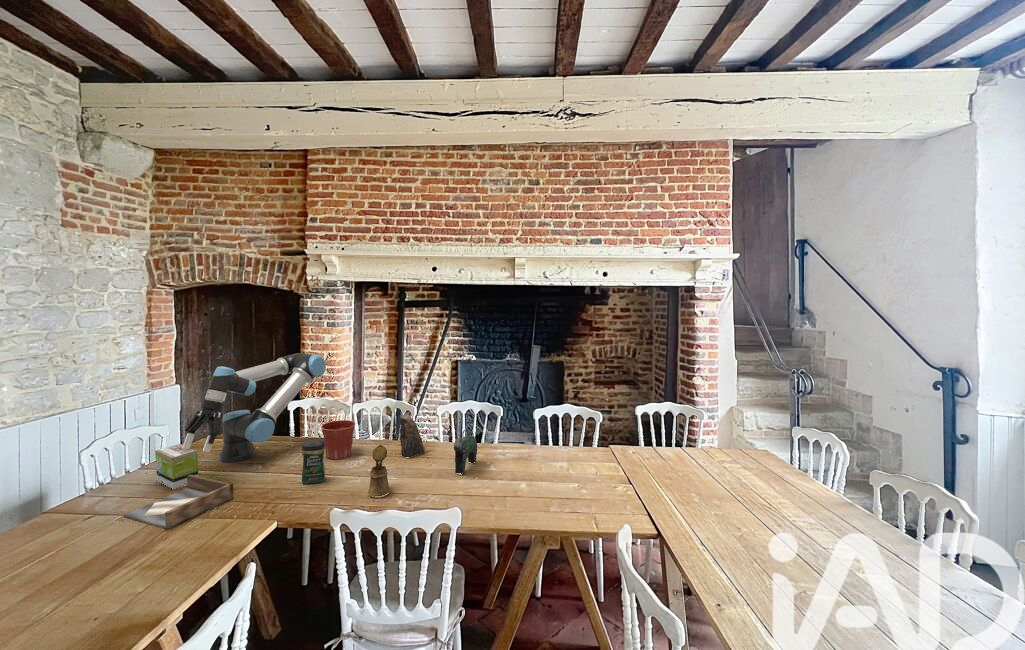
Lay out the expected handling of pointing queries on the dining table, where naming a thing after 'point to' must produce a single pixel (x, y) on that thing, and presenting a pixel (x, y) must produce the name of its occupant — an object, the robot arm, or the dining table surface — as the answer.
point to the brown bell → (378, 474)
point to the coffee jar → (313, 461)
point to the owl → (410, 437)
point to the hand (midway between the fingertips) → (195, 450)
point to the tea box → (176, 465)
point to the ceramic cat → (464, 451)
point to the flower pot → (338, 438)
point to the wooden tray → (184, 503)
